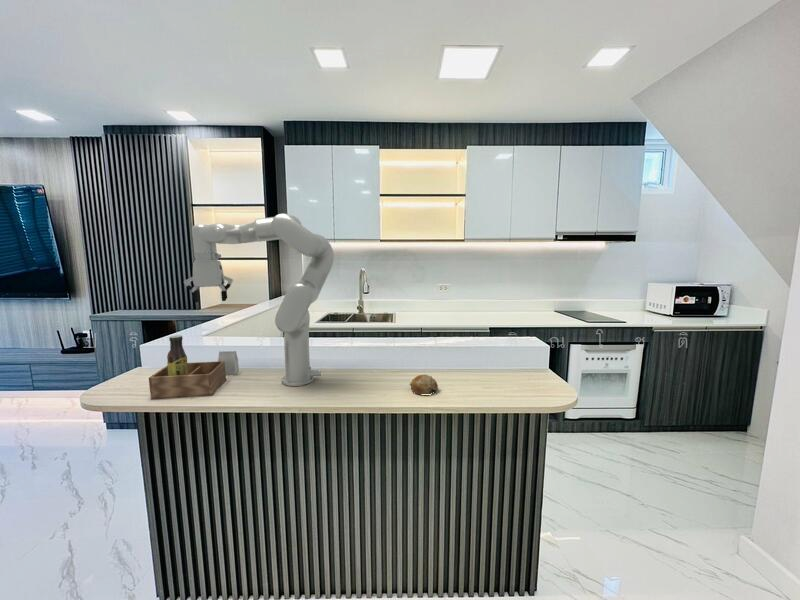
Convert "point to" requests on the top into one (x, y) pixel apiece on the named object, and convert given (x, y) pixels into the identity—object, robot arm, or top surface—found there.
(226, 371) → the printed food box
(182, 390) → the crate
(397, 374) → the top surface
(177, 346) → the sauce bottle
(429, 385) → the bread roll
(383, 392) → the top surface
